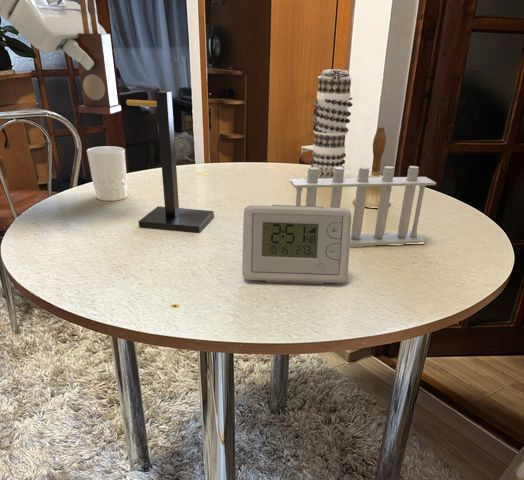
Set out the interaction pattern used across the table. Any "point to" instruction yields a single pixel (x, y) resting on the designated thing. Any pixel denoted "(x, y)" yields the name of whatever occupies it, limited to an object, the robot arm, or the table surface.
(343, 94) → the white patterned cylinder
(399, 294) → the table surface
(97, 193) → the white cup
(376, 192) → the hand bell
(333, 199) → the test tube rack
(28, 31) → the robot arm
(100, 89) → the clock
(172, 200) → the stand
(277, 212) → the digital clock
